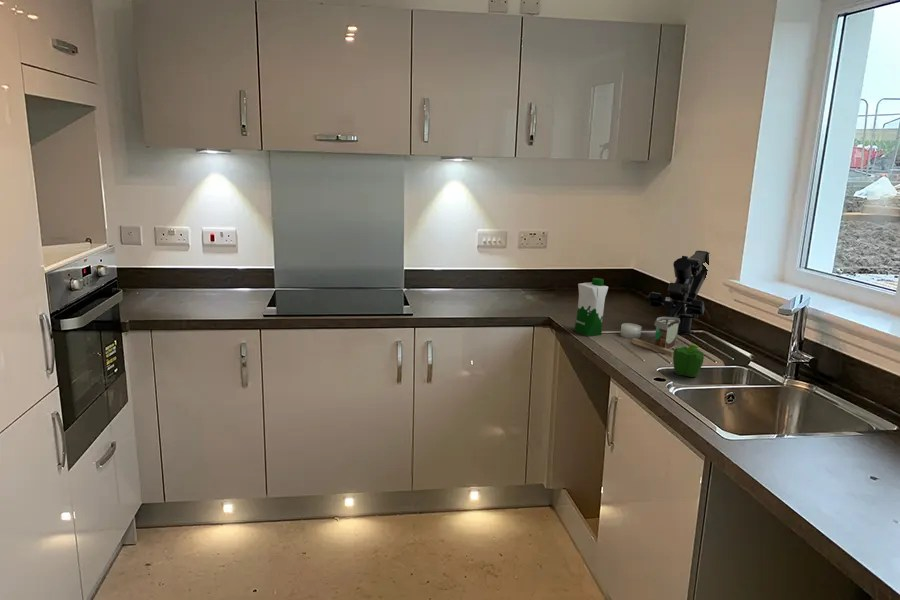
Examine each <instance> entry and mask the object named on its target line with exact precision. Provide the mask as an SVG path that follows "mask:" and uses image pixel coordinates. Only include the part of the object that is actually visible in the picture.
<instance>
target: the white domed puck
mask: <svg viewBox="0 0 900 600" xmlns="http://www.w3.org/2000/svg"><path fill="white" fill-rule="evenodd" d="M642 328H643V326H641V325H639V324H636V323H630V322H624V323H621V328H620V337H622V338H625V339H628V340H629V339H630V340H632V339H634V338H636V339H639V340H640V339H641V335H642Z"/></svg>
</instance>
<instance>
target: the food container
mask: <svg viewBox="0 0 900 600" xmlns="http://www.w3.org/2000/svg"><path fill="white" fill-rule="evenodd" d="M679 324H680V318H674V317H668V316H659V317H656V320H655V322H654V323H653V325H654V326H655V338H654V345H657V346H660V347H663V348H666V349H669V350H672V349H673V348H676V343H677V342H676V341H677V336H678V333H677V332H678V327H679Z"/></svg>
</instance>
